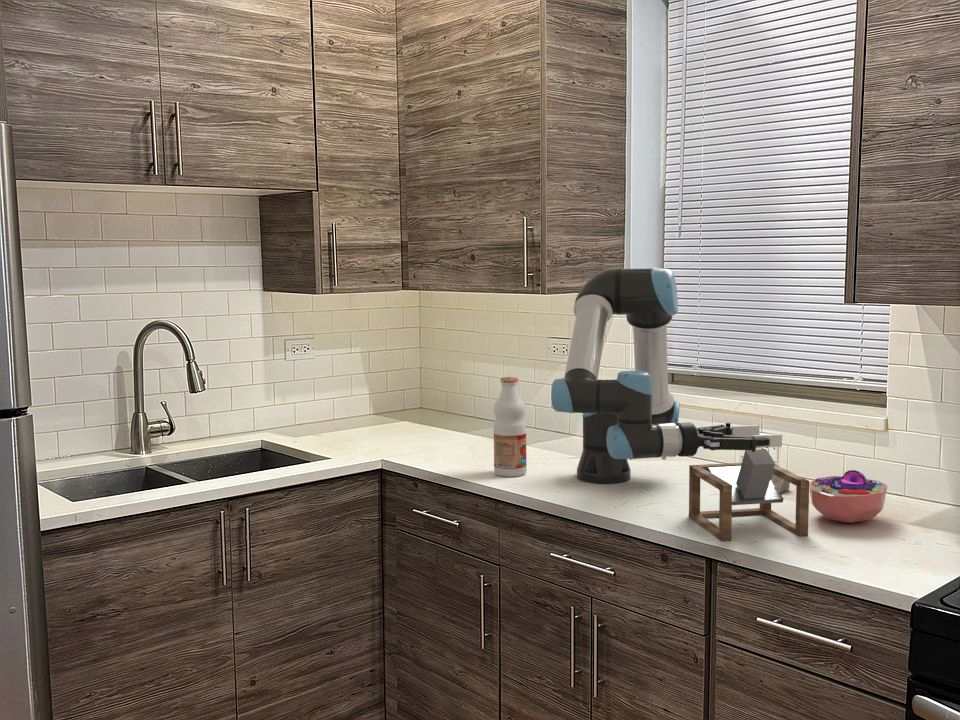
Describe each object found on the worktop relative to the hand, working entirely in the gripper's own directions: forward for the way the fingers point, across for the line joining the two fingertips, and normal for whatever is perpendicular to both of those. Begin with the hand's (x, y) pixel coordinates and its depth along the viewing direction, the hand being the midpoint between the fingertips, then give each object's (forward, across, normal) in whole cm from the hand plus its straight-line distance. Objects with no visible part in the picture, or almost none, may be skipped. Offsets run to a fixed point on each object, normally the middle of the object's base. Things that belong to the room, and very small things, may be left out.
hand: (769, 435), depth 211 cm
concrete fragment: (+16, -35, -22) cm, 44 cm away
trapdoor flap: (-4, -4, -12) cm, 14 cm away
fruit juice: (-48, -64, -22) cm, 83 cm away
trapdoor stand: (-4, -2, -22) cm, 22 cm away
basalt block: (-4, 0, -13) cm, 13 cm away
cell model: (+21, -2, -22) cm, 30 cm away
